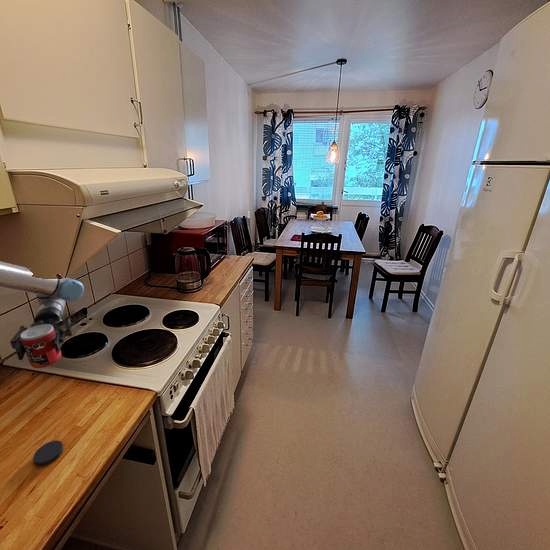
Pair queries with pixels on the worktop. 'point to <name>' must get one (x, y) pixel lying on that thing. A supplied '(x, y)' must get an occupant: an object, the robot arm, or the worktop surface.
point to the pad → (48, 453)
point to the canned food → (40, 345)
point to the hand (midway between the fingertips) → (38, 351)
